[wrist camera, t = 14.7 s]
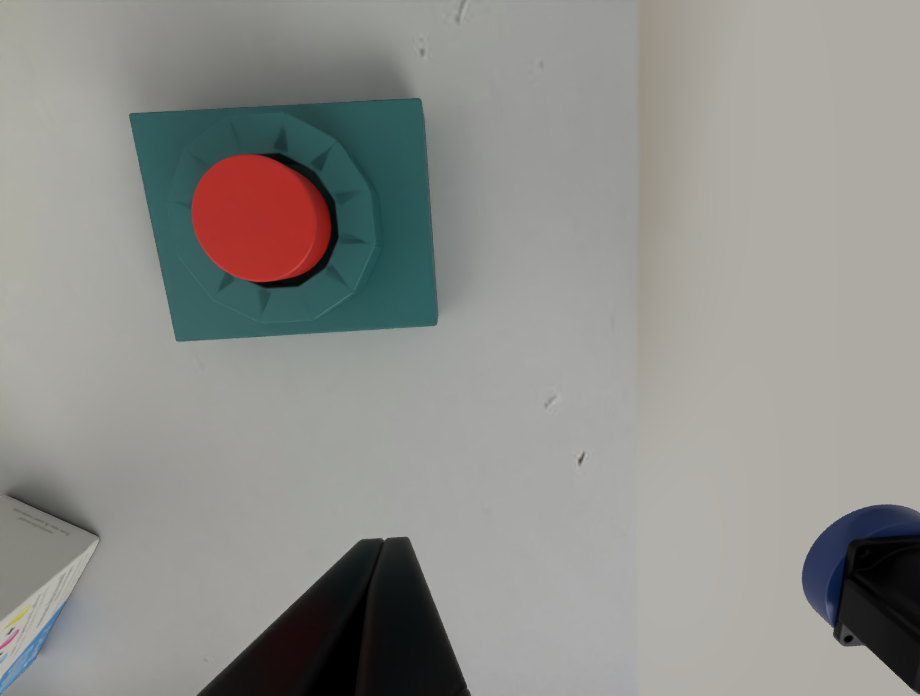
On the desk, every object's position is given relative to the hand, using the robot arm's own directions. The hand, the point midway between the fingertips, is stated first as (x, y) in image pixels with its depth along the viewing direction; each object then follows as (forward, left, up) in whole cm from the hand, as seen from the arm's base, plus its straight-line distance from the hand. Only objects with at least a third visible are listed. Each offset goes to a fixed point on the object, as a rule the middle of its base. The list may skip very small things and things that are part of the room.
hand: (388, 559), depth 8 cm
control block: (+4, -6, -12) cm, 14 cm away
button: (+4, -6, -8) cm, 11 cm away
